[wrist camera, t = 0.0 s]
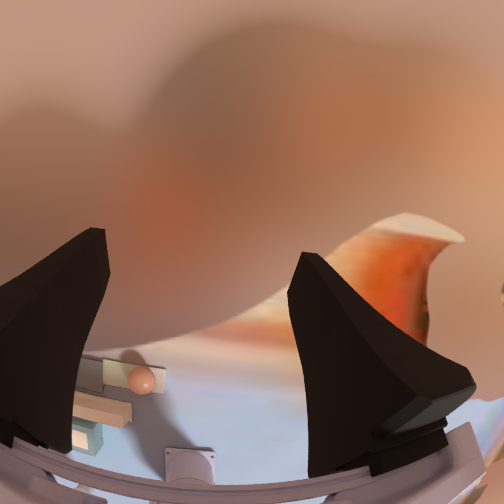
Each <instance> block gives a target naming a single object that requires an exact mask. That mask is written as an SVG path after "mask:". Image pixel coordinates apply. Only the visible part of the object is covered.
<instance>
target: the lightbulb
mask: <svg viewBox="0 0 504 504" xmlns="http://www.w3.org/2000/svg"><path fill="white" fill-rule="evenodd" d="M74 489H75V490H78V491H81V492H84V493H87V494H91V493H92V491H93V488H92V487H88V486H85V485H82V484H79V485H78V486H77V487H76V488H74Z"/></svg>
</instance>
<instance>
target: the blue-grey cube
mask: <svg viewBox="0 0 504 504" xmlns="http://www.w3.org/2000/svg"><path fill="white" fill-rule="evenodd" d="M103 445H104V444H103V433H102V424H101V423H97V422H93V421H90V420H86V419H82V418H79V417H76V416H72V450H75V451H78V452H81V453H85V454H88V455H91V456H96V454H97V453H98V451H99V450H100V449H101V447H102V446H103Z"/></svg>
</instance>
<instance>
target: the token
mask: <svg viewBox="0 0 504 504" xmlns="http://www.w3.org/2000/svg"><path fill="white" fill-rule="evenodd" d="M155 381H156V380H155V375H154V373H153V372H152V371H151V370H150V369H149V368H147V367H144V366H138V367H136V368H134V369H133V370H132V371H130V372H129V374H128V376H127V383H128V386H129V388H130V389H131V390H132V391H133V392H135V393H137V394H140V395H144V394H147V393H149V392H150V391H151V390H152V389H153V387H154V385H155Z"/></svg>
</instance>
